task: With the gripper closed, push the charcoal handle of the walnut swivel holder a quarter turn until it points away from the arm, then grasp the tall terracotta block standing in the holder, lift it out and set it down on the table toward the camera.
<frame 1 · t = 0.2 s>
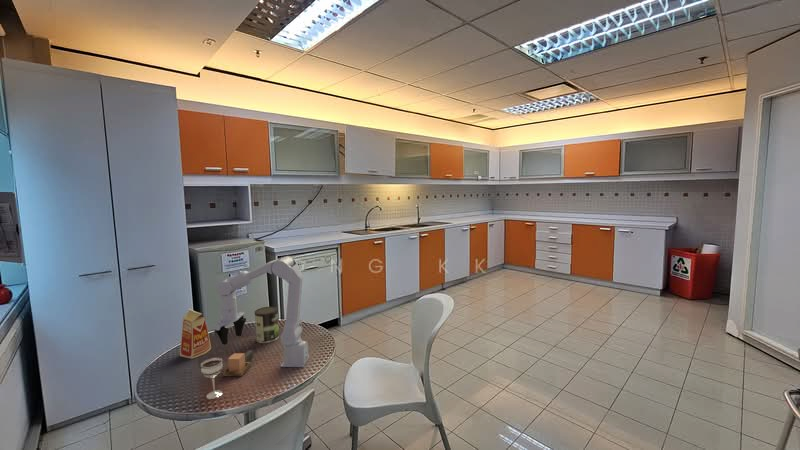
hand: (231, 339, 139), 10 cm above the table, fingers open, 7 cm apart
coffee can: (267, 338, 162), on the table
milk carton: (196, 353, 149), on the table
block: (237, 371, 133), resting in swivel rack
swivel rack: (242, 362, 137), point 2 cm above the table, hinge at 0.0°
wineglass: (214, 394, 119), on the table
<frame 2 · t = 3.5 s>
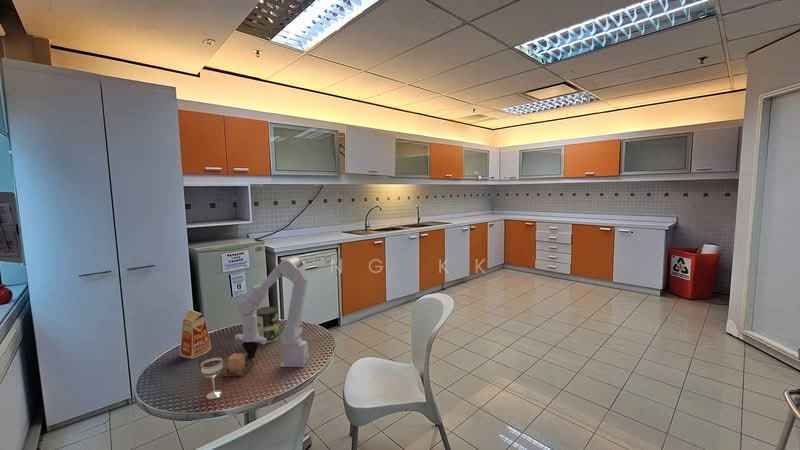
hand: (252, 357, 141), 1 cm above the table, fingers closed
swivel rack: (242, 362, 137), point 2 cm above the table, hinge at 0.0°, touching gripper
everything else where it was.
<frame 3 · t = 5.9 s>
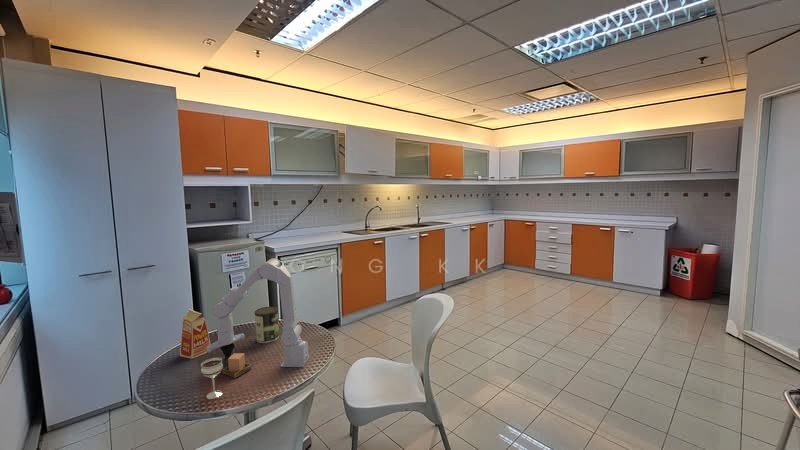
hand: (227, 361, 138), 1 cm above the table, fingers closed, pressing on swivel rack
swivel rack: (230, 365, 135), point 2 cm above the table, hinge at 63.8°, touching gripper
everything else where it was.
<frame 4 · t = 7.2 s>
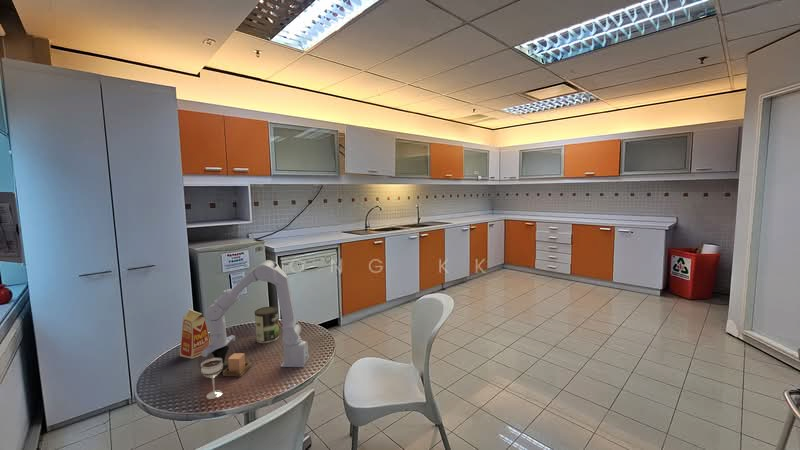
hand: (220, 364, 136), 1 cm above the table, fingers closed
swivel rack: (227, 367, 133), point 2 cm above the table, hinge at 86.6°, touching gripper
everything else where it was.
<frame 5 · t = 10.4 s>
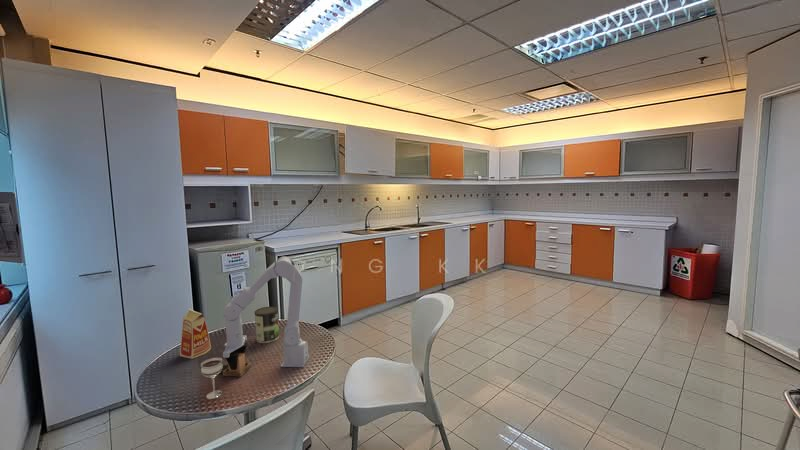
hand: (237, 365, 133), 2 cm above the table, fingers closed on block, 4 cm apart
block: (237, 371, 133), resting in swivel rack, touching gripper
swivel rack: (227, 367, 133), point 2 cm above the table, hinge at 87.0°
everything else where it was.
when the fingers open (3 cm above the table, at t = 14.4 s): block stays where it is, on the table.
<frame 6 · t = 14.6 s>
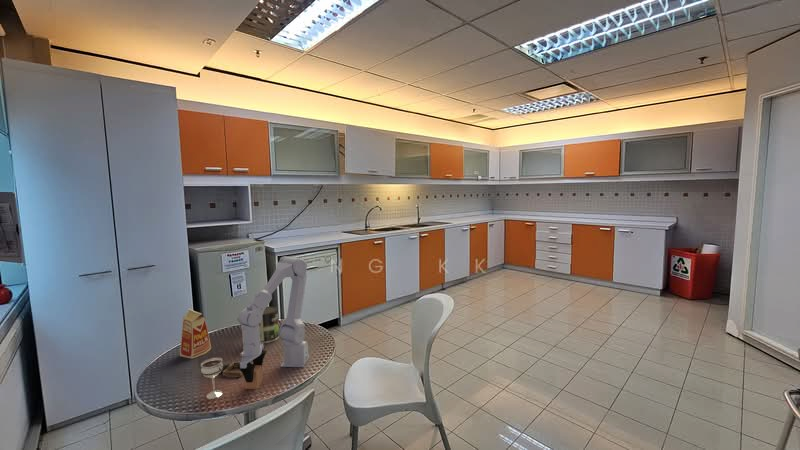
hand: (253, 376, 124), 3 cm above the table, fingers open, 6 cm apart
block: (254, 385, 124), on the table
everything else where it was.
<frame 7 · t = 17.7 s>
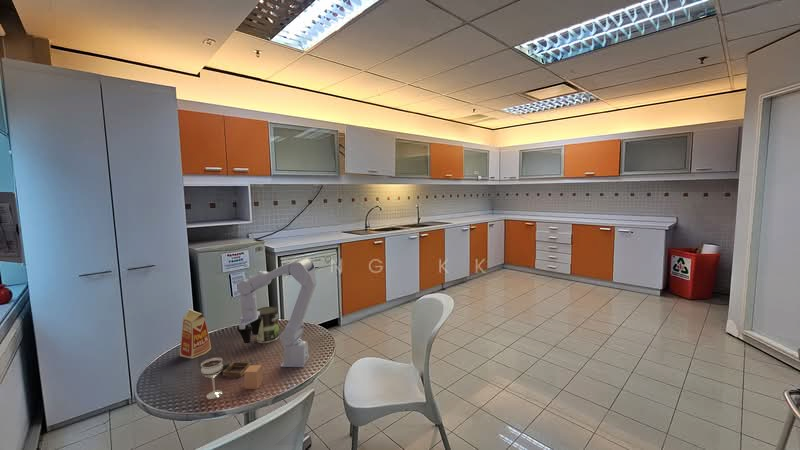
hand: (251, 338, 141), 9 cm above the table, fingers open, 7 cm apart
nothing on the table moved.
at the end: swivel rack at +87° (first picture: +0°); block inside the target area (0.2 cm from its centre), on the table; the gripper is holding nothing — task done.
